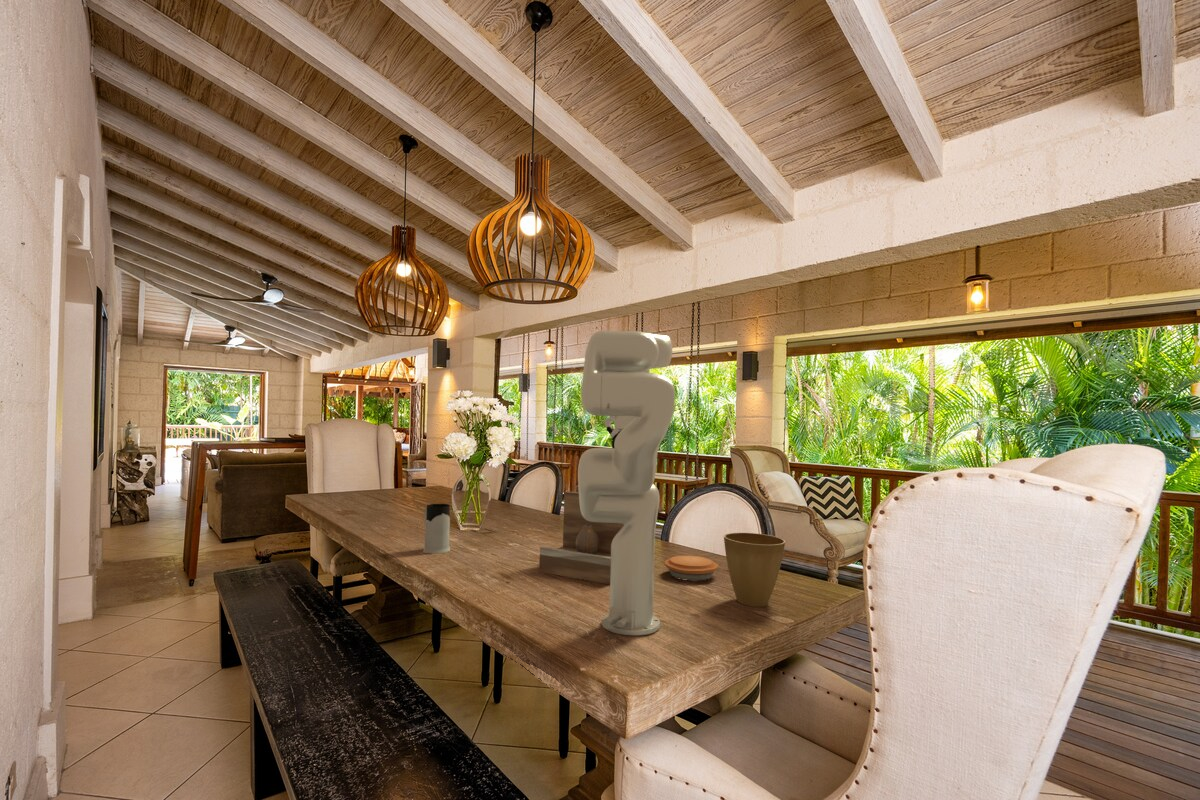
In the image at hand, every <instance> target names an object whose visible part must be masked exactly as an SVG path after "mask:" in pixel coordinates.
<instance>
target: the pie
mask: <svg viewBox="0 0 1200 800" xmlns="http://www.w3.org/2000/svg"><path fill="white" fill-rule="evenodd" d="M664 565H665V567H666V568H667V569H668V572H669V573H670V576H672V577H673V576H674V577H676V578H675V579H677V578H680V579H679V580H681V579H687V580H705V581H707V580H706V579H708V580H710V579H711V578H712V576H713V575H714V573H715V572H716V570H717V569H718V568H719V564H718V563H716V562H714V561H713V560H712V559H709V558H707V557H702V556H700V555H699V556H697V555H675V556H672V557H670V558H668V559H666V560H665V561H664ZM674 577H673V578H674ZM709 578H710V579H709Z"/></svg>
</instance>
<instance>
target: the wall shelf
mask: <svg viewBox="0 0 1200 800" xmlns="http://www.w3.org/2000/svg"><path fill="white" fill-rule="evenodd" d="M563 493H564V494H563V526H562V527H563V528H562V529H563V530H562V546H561V547H557V548H554V547H548V546H540V547H539V558H538V559H539V563H538V564H539V565H538V566H539V567H538V569H539V570H538V572H539V573H546V574H551V575H555V576H556V575H557V576H562V577H567V578H573V579H577V578H578V579H579V580H582V579H584V581H588V580H589V582H593V581H594V583H599V584H605V585H610V568H611V544H612V541H613V539H614V537H615V535H616V534H617V533H618V532H619V531H620V530H621V528H622V527H623V526H624V524H620V523H601V522H590V521H587V520H586V519H584V517H583V516H582V514H581V510H580V503H579V491H569V490H567V491H564V492H563ZM584 525H592V527H593V529H594V531H595V532H596V533H597V535H598V538H599V549H598V551H597V553H596V554H595V555H594V554H587V553H581V552H577V549H576V538H577V535H578V534H579V532H580V531H581V530H582V528H583V526H584Z"/></svg>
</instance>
